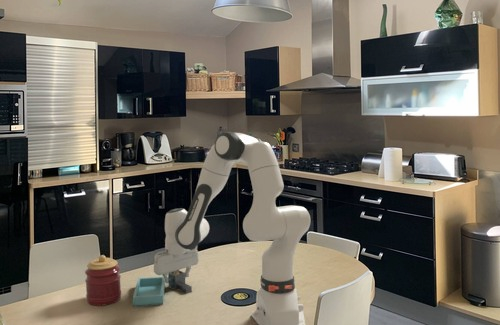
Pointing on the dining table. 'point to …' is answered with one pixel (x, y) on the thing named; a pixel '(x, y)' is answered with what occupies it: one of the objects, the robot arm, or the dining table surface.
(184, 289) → the link
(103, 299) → the canister
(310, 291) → the dining table surface
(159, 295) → the tray
